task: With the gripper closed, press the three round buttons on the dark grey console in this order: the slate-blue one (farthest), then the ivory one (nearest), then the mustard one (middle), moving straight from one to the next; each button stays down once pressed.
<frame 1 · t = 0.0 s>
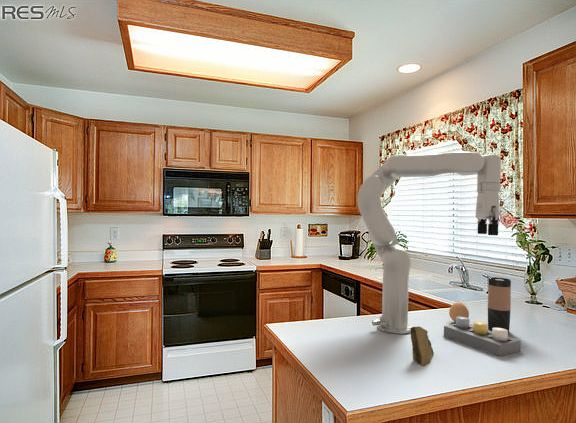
hand: (487, 234, 136), 37 cm above the counter, tool pointing down, fingers open, 9 cm apart
rock: (425, 359, 111), on the counter
mustard button: (480, 328, 127), point 5 cm above the counter, slide at 0.0 cm
slate button: (462, 322, 133), point 5 cm above the counter, slide at 0.0 cm
travel mug: (498, 331, 141), on the counter
egg: (458, 323, 150), on the counter
ivory button: (499, 334, 120), point 5 cm above the counter, slide at 0.0 cm
button console: (480, 343, 127), on the counter
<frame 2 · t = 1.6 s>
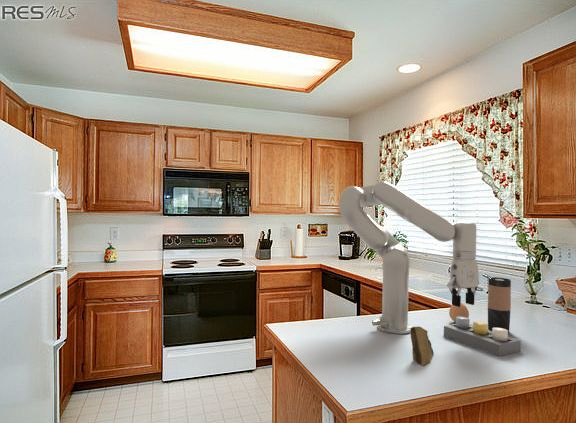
hand: (463, 304, 133), 12 cm above the counter, tool pointing down, fingers open, 6 cm apart
nothing on the counter moved.
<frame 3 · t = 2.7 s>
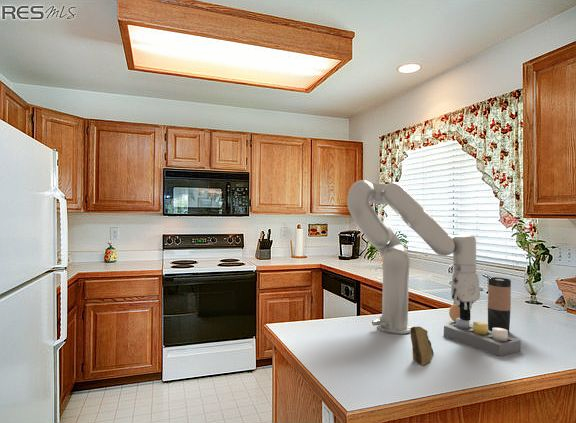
hand: (465, 319, 133), 6 cm above the counter, tool pointing down, fingers closed
slate button: (462, 323, 133), point 5 cm above the counter, slide at 0.4 cm, touching gripper
everything else where it was.
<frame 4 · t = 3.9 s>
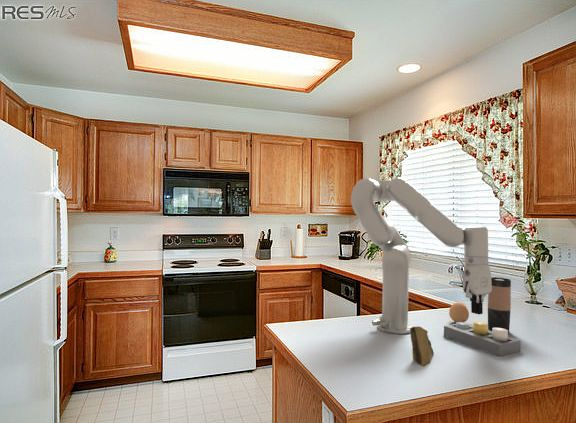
hand: (476, 313, 129), 10 cm above the counter, tool pointing down, fingers closed
slate button: (462, 328, 133), point 3 cm above the counter, slide at 2.0 cm
everything else where it was.
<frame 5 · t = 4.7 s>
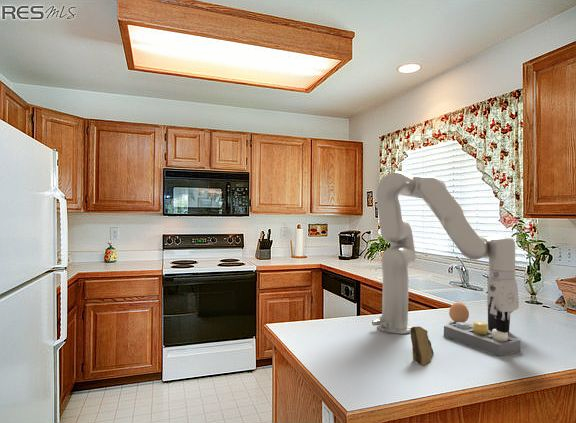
hand: (502, 331, 120), 6 cm above the counter, tool pointing down, fingers closed
ivory button: (499, 335, 120), point 5 cm above the counter, slide at 0.5 cm, touching gripper
everything else where it was.
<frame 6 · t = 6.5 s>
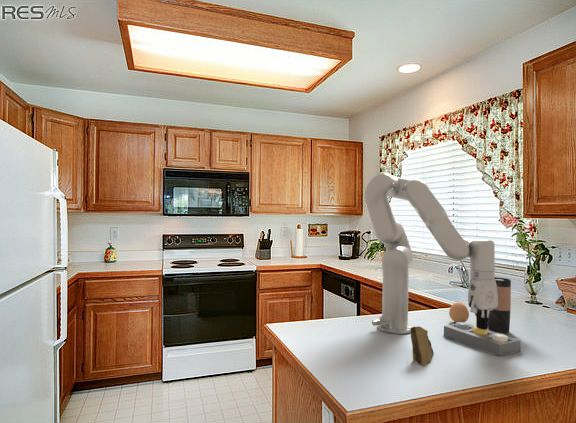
hand: (482, 328, 126), 5 cm above the counter, tool pointing down, fingers closed
mustard button: (480, 332, 127), point 4 cm above the counter, slide at 1.6 cm
ivory button: (499, 340, 120), point 3 cm above the counter, slide at 2.0 cm
everything else where it was.
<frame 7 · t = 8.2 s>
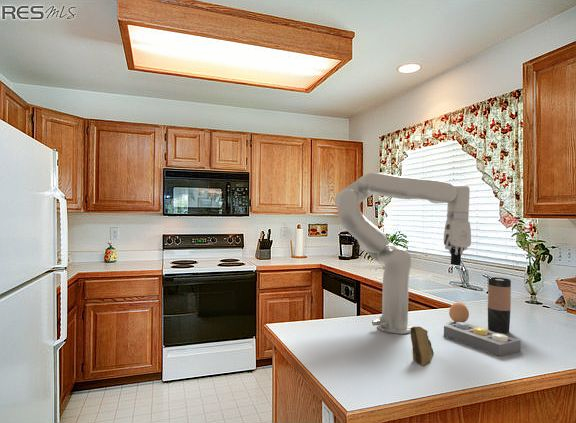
hand: (455, 264, 141), 25 cm above the counter, tool pointing down, fingers closed
mustard button: (480, 334, 127), point 3 cm above the counter, slide at 2.0 cm
everything else where it was.
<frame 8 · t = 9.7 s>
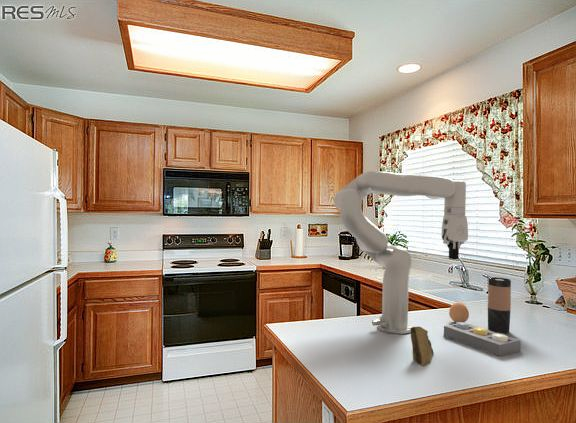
hand: (453, 258, 143), 27 cm above the counter, tool pointing down, fingers closed
nothing on the counter moved.
at the end: slate button slide at 2.0 cm; ivory button slide at 2.0 cm; mustard button slide at 2.0 cm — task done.
